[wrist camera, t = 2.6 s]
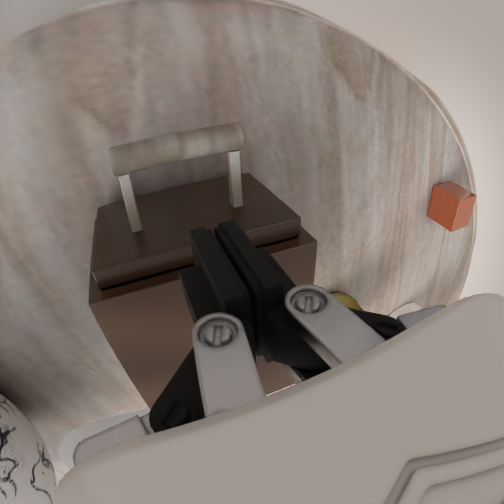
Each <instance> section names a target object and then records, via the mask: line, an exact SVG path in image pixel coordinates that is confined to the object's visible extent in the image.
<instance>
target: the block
mask: <svg viewBox="0 0 504 504" xmlns="http://www.w3.org/2000/svg"><path fill="white" fill-rule="evenodd" d="M475 198H476V195H475V194H473V193H471V192H469V191H468V190H466V189H464V188H462V187H461V186H459V185H457V184H455V183H453V182H447V183H442V184H437V185H434V187H433V191H432V196H431V201H430V205H429V210H428V214H427V216H428V217H430V218H431V219H433V220H434V221H436V222H437V223H439V224H440V225H442V226H443V227H445V228H446V229H448V230H449V231H450V232H453V231H455V230H457V229H460V228H462V227H465V226H467V225H468V223H469V220H470V216H471V213H472V209H473V206H474V202H475Z"/></svg>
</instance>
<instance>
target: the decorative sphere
mask: <svg viewBox="0 0 504 504" xmlns="http://www.w3.org/2000/svg"><path fill="white" fill-rule="evenodd" d="M56 488H57V487H56V478H55V472H54V468H53V465H52V462H51V459H50V456H49V453H48V451H47V448H46V446H45V444H44V442H43V440H42V438H41V437H40V435H39V434H38V432H37V431H36V429H35V428H34V426H33V425H32V424H31V422H30V421H29V420H28V418H27V417H26V416H25V415H24V414H23V413H22V412H21V411H20V410H19V409H18V408H17V407H16V406H15V405H14V404H13V403H12V402H10V401H9V400H8V399H7V398H6V397H4V396H3V395H1V394H0V504H55V494H56Z"/></svg>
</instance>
